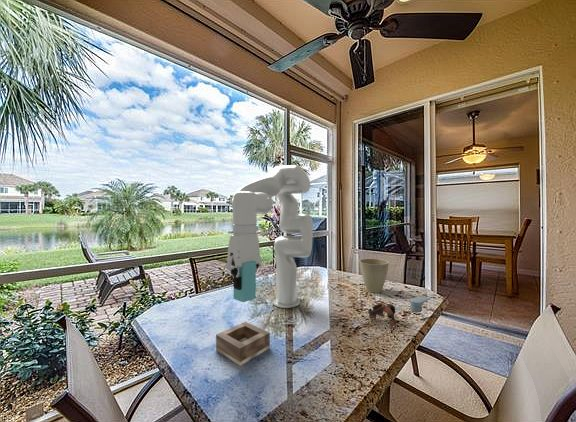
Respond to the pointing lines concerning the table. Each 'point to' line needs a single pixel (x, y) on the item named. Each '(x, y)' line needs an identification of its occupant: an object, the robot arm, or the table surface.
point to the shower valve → (416, 304)
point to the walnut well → (242, 342)
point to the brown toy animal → (379, 310)
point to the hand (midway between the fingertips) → (244, 286)
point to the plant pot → (374, 273)
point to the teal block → (247, 283)
